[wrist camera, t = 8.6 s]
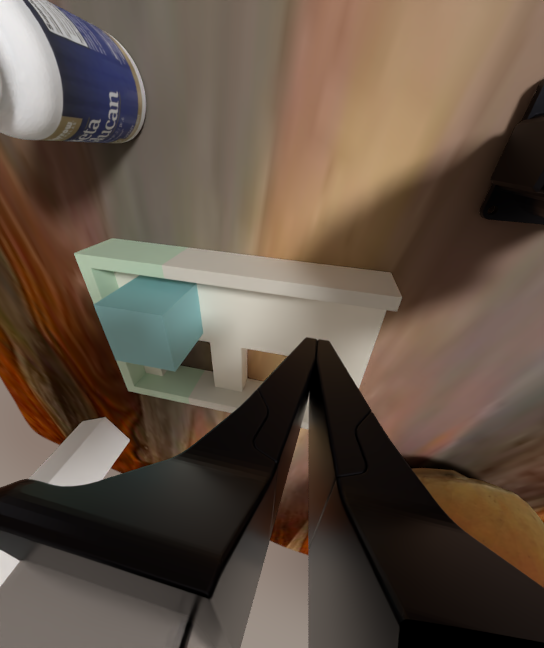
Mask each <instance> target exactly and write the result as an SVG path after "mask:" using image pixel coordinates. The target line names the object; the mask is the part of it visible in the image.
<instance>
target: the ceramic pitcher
mask: <svg viewBox="0 0 544 648" xmlns="http://www.w3.org/2000/svg"><path fill="white" fill-rule="evenodd" d="M412 470H413V472H414V473H415V474H416V476H417V477H418V478H419V479H420V481H421V482H422V483H423V485H424V486H425V487H426V489H427V490H428V491H429V493H430V494H431V495H432V497H433V498H434V499H435V501H436V502H437V503H438V504H439V506H440V507H441V508H442V509H443V510H444V512H445V513H446V514H447V515H448V516H449V517H450V518H451V519H452V520H453V521H454V522H455V523H456V524H457V525H458V526H459V527H460V528H462V529H463V530H464V531H465V532H466V533H468V534H469V535H470V536H472V537H473V538H475V539H476V540H477V541H479V542H480V543H482V544H483V545H484V546H486V547H487V548H489V549H490V550H492V551H493V552H494V553H496V554H497V555H499V556H500V557H501V558H503V559H504V560H506V561H507V562H508V563H510V564H511V565H513V566H514V567H515V568H517V569H518V570H520V571H521V572H522V573H524V574H525V575H527V576H528V577H530V578H531V579H532V580H534V581H535V582H537V583H538V584H539V585H541V586H542V587H544V523H543V521H542V520H541V519H540V517H539V516H538V515H537V514H536V513H535V511H534V510H533V509H532V508H531V507H530V506H529V505H528V504H527V503H526V502H525V501H523V500H522V499H521V498H520V497H519V496H518V495H516V494H515V493H513V492H511V491H508V490H505V489H502V488H500V487H498V486H495V485H493V484H490V483H487V482H484V481H481V480H477V479H471V478H467V477H465V476H463V475H461V474H459V473H457V472H456V471H454V470H443V469H430V468H413V469H412Z"/></svg>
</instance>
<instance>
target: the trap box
mask: <svg viewBox="0 0 544 648" xmlns="http://www.w3.org/2000/svg"><path fill="white" fill-rule="evenodd" d="M74 255H75V257H76V260H77V263H78V265H79V268H80V270H81V273H82V275H83V278H84V280H85V283H86V285H87V288H88V290H89V293H90V295H91V298H92V300H93V303H94V304H95V303H97V302H98V301H100V300H101V299H103V298H105V297H106V296H108V295H109V294H111V293H112V292H114V291H116V290H117V289H119V288H120V287H122V286H123V285H125V284H127V283H128V282H130V281H131V280H133V279H134V278H136V277H138V276H139V275H143V276H150V277H157V278H165V279H172V280H179V281H186V282H193V283H197V289H198V297H199V304H200V312H201V320H202V327H203V334H202V336H201V337H200V338H199V340H200V341H205V342H210V347H211V356H212V365H213V372H212V371H207V370H202V369H196V368H191V367H186V366H181V365H180V366H179V367H178V369H177V370H176V372H174V371H169V370H164V369H159V368H154V367H148V366H143V365H138V364H133V363H127V362H122V361H117V360H116V361H117V364H118V366H119V369H120V371H121V374H122V376H123V379H124V381H125V384H126V387H127V389H128V391H130V392H135V393H140V394H144V395H149V396H154V397H159V398H163V399H168V400H173V401H177V402H182V403H187V404H192V405H196V406H201V407H206V408H210V409H215V410H220V411H225V412H229V413H233V412H234V411H235V410H236V409H237V408H238V407H240V406H241V405H242V404H243V403H244V402H245V401H246V400H247V399H248V398H249V397H250V396H251V395H252V393H253V392H254V391H255V390H257V388H258V387H259V386H260V385H261V384H262V383H263V382H264V381H259V380H254V379H249V378H247V349H251V350H257V351H262V352H268V353H274V354H280V355H285V356H288V355H289V354H290V353H291V352H292V351H293V350H294V349H295V348H296V347H297V346H298V345H299V344H300V343H301V342H302V341H303V340H304V339H305V338H306V337H309V338H315V339H317V340H318V339H322V340H328V341H330V343H331V344H332V346H333V348H334V349H335V351H336V353H337V354H338V356H339V358H340V359H341V361H342V362H343V364H344V366H345V367H346V369H347V371H348V372H349V374H350V376H351V377H352V379H353V381H354V382H355V384H356V386H357V387H358V389H359V386H360V384H361V381H362V378H363V375H364V372H365V370H366V367H367V364H368V361H369V358H370V356H371V353H372V350H373V347H374V344H375V342H376V339H377V336H378V333H379V330H380V328H381V325H382V322H383V319H384V316H385V314H386V311H387V310H389V311H396V312H397V310H398V308H399V305H400V303H401V300H402V296H401V294H400V291H399V289H398V287H397V285H396V283H395V280H394V278H393V276H392V274H391V272H383V271H375V270H366V269H358V268H350V267H342V266H334V265H326V264H318V263H309V262H301V261H293V260H285V259H277V258H269V257H261V256H253V255H244V254H236V253H228V252H220V251H212V250H204V249H196V248H188V247H179V246H171V245H163V244H155V243H147V242H139V241H131V240H122V239H114V238H112V239H109V240H107V241H104V242H102V243H99V244H96V245H94V246H91V247H89V248H86V249H84V250H81V251H79V252H76V253H74ZM301 428H305V429H309V398H308V402H307V406H306V410H305V413H304V417H303V421H302V424H301Z"/></svg>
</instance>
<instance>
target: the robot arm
mask: <svg viewBox="0 0 544 648" xmlns="http://www.w3.org/2000/svg"><path fill="white" fill-rule="evenodd" d="M491 181H492V185H491V187H490V189H489V192H488V194H487V196H486V198H485V200H484V202H483V204H482V206H481V208H480V215H481V216H482V217H483V218H486V219H490V220H501V221H512V222H523V223H534V224H544V79H543V80H542V82H541V83H540V85H539V86H538V88H537V91H536V93H535V95H534V97H533V99H532V101H531V103H530V105H529V107H528V109H527V112H526V114H525V116H524V118H523V120H522V121H521V122H520V123H519V124H517V125H516V126H515V128H514V130H513V132H512V135H511V137H510V139H509V141H508V143H507V145H506V147H505V150H504V152H503V154H502V156H501V158H500V160H499V162H498V165H497V167H496V169H495V171H494V173H493V175H492V177H491ZM492 206H494V207H495V208H494V211H493V212H491V213H489V214H488V209H489V208H490V207H492ZM308 398H309V648H544V587H542V586H541V585H539V584H538V583H537V582H535V581H534V580H532V579H531V578H530V577H528V576H527V575H525V574H524V573H522V572H521V571H520V570H518V569H517V568H515V567H514V566H513V565H511V564H510V563H508V562H507V561H506V560H504V559H503V558H501V557H500V556H499V555H497V554H496V553H494V552H493V551H492V550H490V549H489V548H487V547H486V546H484V545H483V544H482V543H480V542H479V541H477V540H476V539H475V538H473V537H472V536H470V535H469V534H468V533H466V532H465V531H464V530H463V529H462V528H460V527H459V526H458V525H457V524H456V523H455V522H454V521H453V520H452V519H451V518H450V517H449V516H448V515H447V514H446V513H445V512H444V510H443V509H442V508H441V507H440V506H439V504H438V503H437V502H436V501H435V499H434V498H433V497H432V495H431V494H430V493H429V491H428V490H427V489H426V487H425V486H424V485H423V483H422V482H421V481H420V479H419V478H418V477H417V476H416V474H415V473H414V472H413V470H412V469H411V468H410V466H409V465H408V464H407V462H406V461H405V460H404V458H403V457H402V456H401V454H400V453H399V451H398V450H397V449H396V447H395V446H394V445H393V443H392V442H391V440H390V439H389V438H388V436H387V434H386V433H385V431H384V430H383V428H382V427H381V425H380V424H379V422H378V420H377V419H376V417H375V415H374V414H373V413H372V412H371V409H370V407H369V406H368V404H367V402H366V401H365V399H364V397H363V396H362V394H361V392H360V391H359V389H358V387H357V386H356V384H355V382H354V381H353V379H352V377H351V376H350V374H349V372H348V371H347V369H346V367H345V366H344V364H343V362H342V361H341V359H340V358H339V356H338V354H337V353H336V351H335V349H334V348H333V346H332V344H331V343H330V341H328V340H322V339H318V340H317V339H315V338H309V337H306V338H305V339H304V340H303V341H302V342H301V343H300V344H299V345H298V346H297V347H296V348H295V349H294V350H293V351H292V352H291V353H290V354H289V355H288V357H287V358H286V359H285V360H284V361H283V362H282V363H281V364H280V365H279V366H278V367H277V368H276V369H275V370H274V371H273V372H272V373H271V375H270V376H269V377H268V378H267V379H266V380H265V381H264V382H263V383H262V384H261V385H260V386H259V387H258V388H257V390H255V391H254V392H253V393H252V395H251V396H250V397H249V398H248V399H247V400H246V401H245V402H244V403H243V404H242V405H241V406H240V407H238V408H237V409H236V410H235V411H234V412H233V413H231V414H230V415H229V416H228V417H227V418H226V419H224V420H223V421H222V422H221V423H219V424H218V425H217V426H216V427H215V428H213V429H212V430H211V431H210V432H208V433H207V434H206V435H205V436H204V437H202V438H201V439H200V440H199V441H197V442H196V443H195V444H194V445H192V446H191V447H190V448H188V449H187V450H185V451H184V452H182V453H181V454H179V455H177V456H175V457H173V458H171V459H168V460H165V461H161V462H158V463H155V464H152V465H149V466H145V467H142V468H139V469H136V470H132V471H129V472H126V473H123V474H120V475H117V476H113V477H110V478H107V479H104V480H100V481H97V482H93V483H89V484H85V485H77V486H57V485H52V484H48V483H45V482H41V481H37V480H33V479H24V480H20V481H17V482H14V483H11V484H9V485H6V486H3V487H1V488H0V550H2V551H3V552H5V553H7V554H9V555H10V556H12V557H14V558H16V559H17V560H19V561H20V562H19V563H18V564H17V566H16V567H15V568H14V570H13V571H12V572H11V573H10V575H9V576H8V577H7V579H6V580H5V581H4V583H3V584H2V585H1V586H0V648H240V646H241V643H242V639H243V636H244V632H245V628H246V625H247V621H248V617H249V614H250V610H251V607H252V603H253V599H254V596H255V592H256V588H257V584H258V581H259V577H260V574H261V570H262V566H263V563H264V559H265V556H266V552H267V548H268V545H269V541H270V537H271V534H272V530H273V526H274V523H275V519H276V515H277V512H278V508H279V504H280V501H281V497H282V494H283V490H284V486H285V483H286V479H287V475H288V472H289V468H290V464H291V461H292V457H293V453H294V450H295V446H296V443H297V439H298V435H299V432H300V428H301V424H302V421H303V417H304V413H305V410H306V406H307V402H308Z"/></svg>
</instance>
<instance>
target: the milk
mask: <svg viewBox="0 0 544 648" xmlns="http://www.w3.org/2000/svg"><path fill="white" fill-rule="evenodd" d="M129 441H130V439H129V438H128V437H127V436H126V435H124V434H123V433H122V432H121V431H120V430H119V429H118V428H117V427H116V426H115V425H114V424H112V423H111V422H110V421H109V420H108V419H107V418H106V417H103V418H98V419H92V420H86V421H82V422H81V423H80V424H79V425H78V427H77V428H76V429H75V430H74V431H73V432H72V433H71V434H70V435H69V436H68V437H67V438H66V439H65V440H64V441H63V443H62V444H61V445H60V446H59V447H58V448H57V449H56V450H55V451H54V452H53V453H52V454H51V455H50V456H49V458H48V459H47V460H46V461H45V462H44V463H43V464H42V465H41V466H40V467H39V468H38V469H37V470H36V472H35V473H34V474H33V475H32V476H31V477H30V478H29V479H33V480H37V481H41V482H45V483H48V484H52V485H57V486H77V485H85V484H89V483H93V482H97V481H100V480H102V479H103V478H104V476H105V475H106V474H107V472H108V471H109V469H110V468H111V467H112V465H113V464H114V462H115V461H116V460H117V458H118V457H119V455H120V454H121V452H122V451H123V450H124V448H125V447H126V445H127V444H128V443H129ZM19 562H20V561H19V560H17V559H16V558H14V557H12V556H10V555H9V554H7V553H5V552H3V551H2V550H0V586H1V585H2V584H3V583H4V581H5V580H6V579H7V577H8V576H9V575H10V573H11V572H12V571H13V570H14V568H15V567H16V566H17V564H18V563H19Z"/></svg>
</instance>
